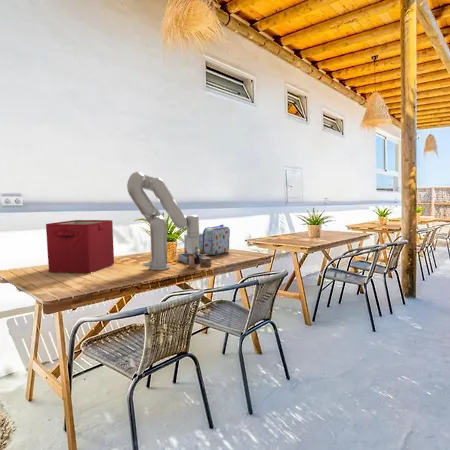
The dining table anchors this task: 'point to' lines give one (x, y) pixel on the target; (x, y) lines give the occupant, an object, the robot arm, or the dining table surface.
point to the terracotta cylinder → (192, 261)
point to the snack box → (199, 243)
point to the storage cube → (80, 245)
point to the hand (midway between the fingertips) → (194, 262)
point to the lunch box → (216, 240)
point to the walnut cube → (205, 261)
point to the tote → (187, 257)
